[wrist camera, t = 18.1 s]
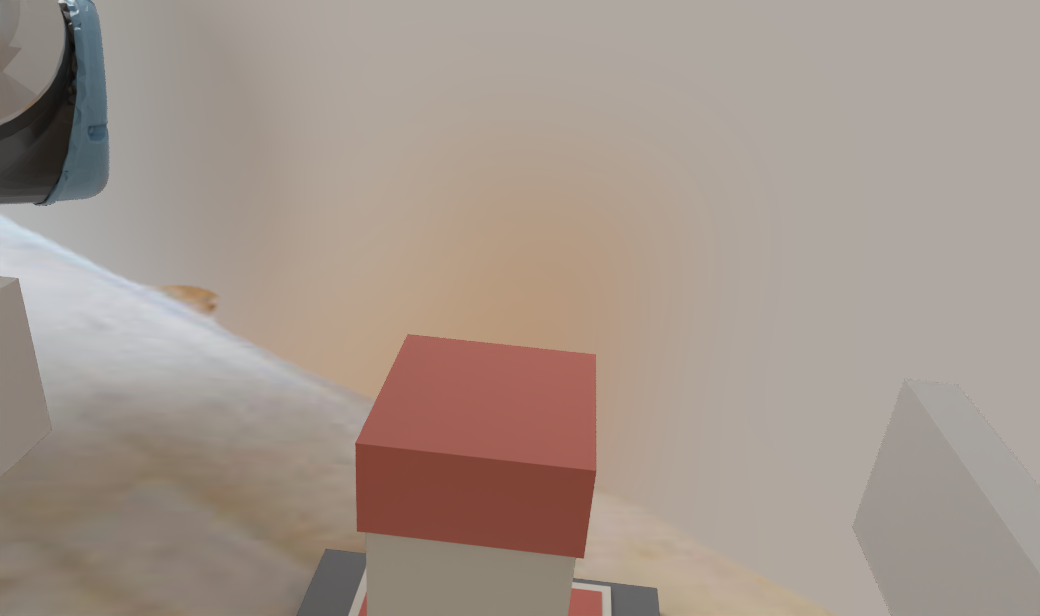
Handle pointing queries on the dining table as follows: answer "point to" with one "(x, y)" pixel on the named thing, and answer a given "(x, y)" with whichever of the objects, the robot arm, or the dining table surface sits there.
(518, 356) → the block
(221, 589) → the dining table surface
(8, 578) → the dining table surface
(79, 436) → the dining table surface
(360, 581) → the grey flat board
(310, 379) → the dining table surface
